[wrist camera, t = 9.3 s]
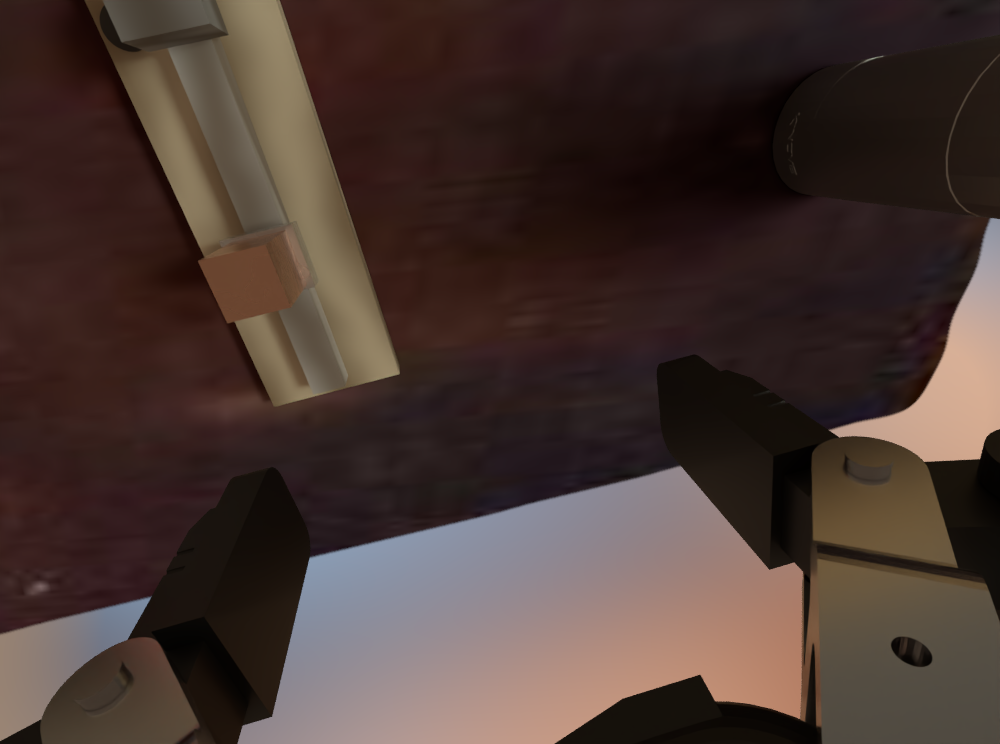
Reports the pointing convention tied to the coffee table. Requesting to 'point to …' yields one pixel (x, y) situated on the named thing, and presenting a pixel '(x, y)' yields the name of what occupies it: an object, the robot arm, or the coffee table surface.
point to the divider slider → (259, 271)
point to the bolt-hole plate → (294, 181)
